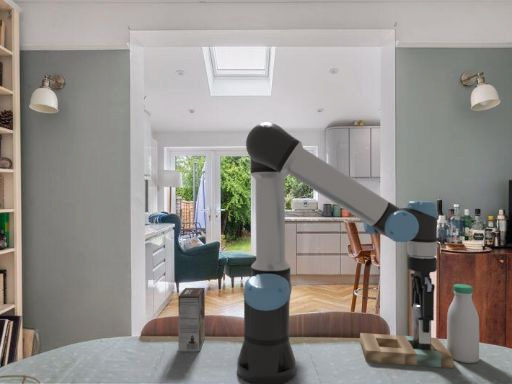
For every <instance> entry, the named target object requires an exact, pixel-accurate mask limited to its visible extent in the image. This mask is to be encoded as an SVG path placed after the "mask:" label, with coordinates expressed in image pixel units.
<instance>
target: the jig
mask: <svg viewBox="0 0 512 384" xmlns="http://www.w3.org/2000/svg"><path fill="white" fill-rule="evenodd" d="M359 343H360V346H361V350H362V353H363V356H364V359H365V362H368V363H380V364H381V363H383V364H393V365H394V364H395V365H404V366H405V365H406V366H418V367H419V366H421V367H431V368H433V367H434V368H445V369H454V359H453V356H452V355H451V353H450V352H449V351H448V350H447V347H446V346H445V345H444V344H443V343H442V342H441V340H440V339H439V338H438V337H431V350H419V349H414V348H413V335H411V336H410V335H398V334H386V333H385V334H382V333H381V334H380V333H366V332H365V333H364V332H360V333H359Z"/></svg>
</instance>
